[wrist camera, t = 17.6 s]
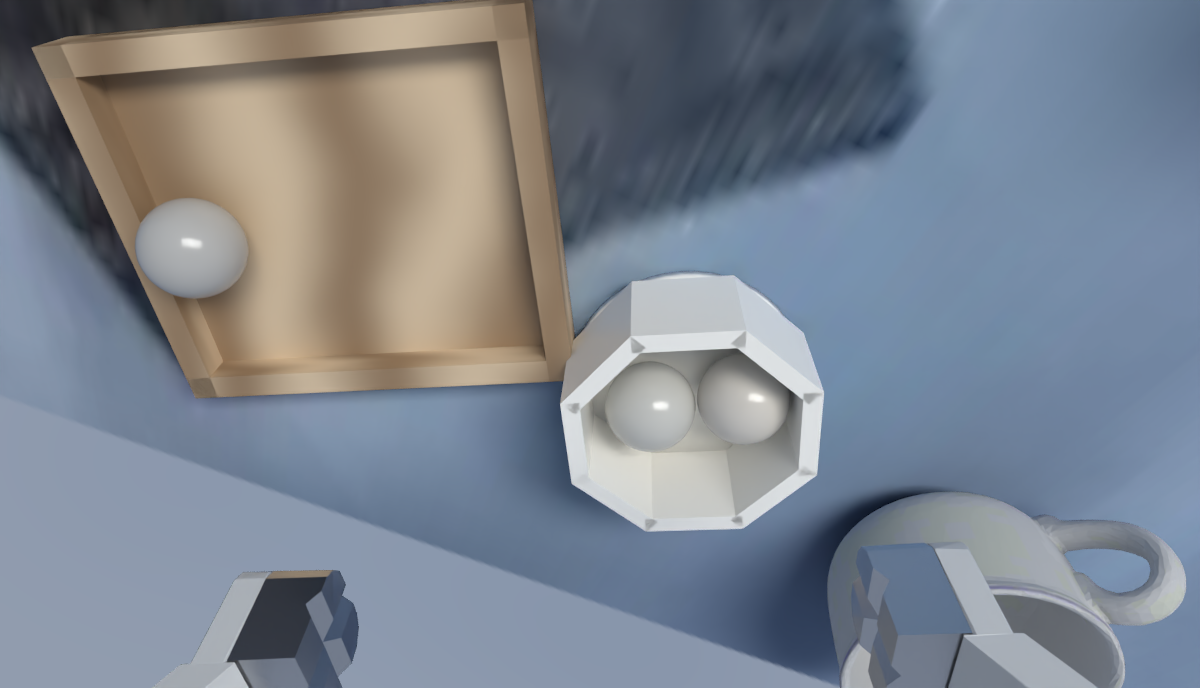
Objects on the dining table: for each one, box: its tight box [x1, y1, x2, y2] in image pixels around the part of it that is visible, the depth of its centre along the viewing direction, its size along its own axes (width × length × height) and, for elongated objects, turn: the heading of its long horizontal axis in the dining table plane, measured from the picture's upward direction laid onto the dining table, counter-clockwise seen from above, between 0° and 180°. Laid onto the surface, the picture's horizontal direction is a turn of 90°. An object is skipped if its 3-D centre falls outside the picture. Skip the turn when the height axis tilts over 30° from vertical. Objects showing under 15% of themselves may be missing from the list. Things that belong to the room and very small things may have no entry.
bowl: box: [560, 271, 824, 531], centre depth 30 cm, size 9×9×5 cm
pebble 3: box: [697, 353, 790, 445], centre depth 30 cm, size 4×4×4 cm
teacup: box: [827, 492, 1186, 688], centre depth 33 cm, size 14×11×8 cm
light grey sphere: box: [605, 361, 696, 452], centre depth 30 cm, size 4×4×4 cm
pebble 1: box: [135, 198, 249, 299], centre depth 27 cm, size 4×4×4 cm
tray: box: [32, 0, 575, 398], centre depth 28 cm, size 16×14×2 cm
